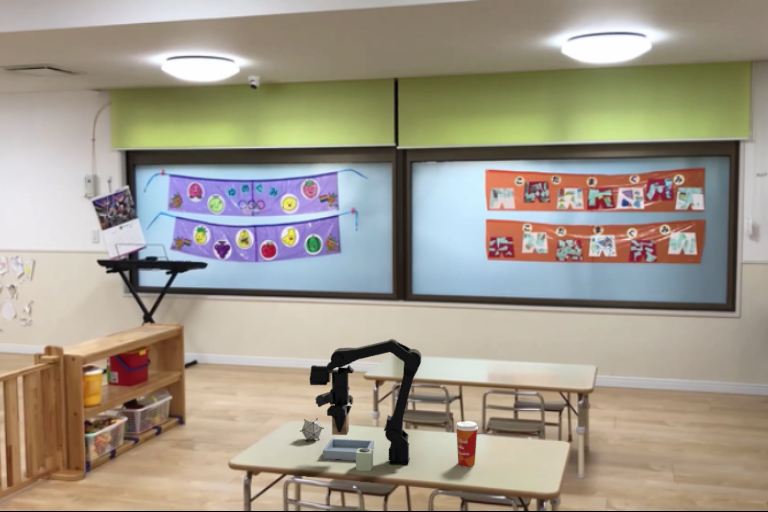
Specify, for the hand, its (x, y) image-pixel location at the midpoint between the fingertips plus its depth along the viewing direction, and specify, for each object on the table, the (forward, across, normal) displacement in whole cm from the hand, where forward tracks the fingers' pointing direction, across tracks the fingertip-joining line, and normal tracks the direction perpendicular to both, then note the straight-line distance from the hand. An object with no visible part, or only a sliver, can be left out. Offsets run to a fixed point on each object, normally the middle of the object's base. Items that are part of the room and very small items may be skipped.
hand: (340, 429), depth 264 cm
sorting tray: (+11, -8, +2) cm, 13 cm away
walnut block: (+1, 0, 0) cm, 1 cm away
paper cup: (+11, -1, +44) cm, 45 cm away
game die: (+11, -22, -15) cm, 29 cm away
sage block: (+11, +7, +9) cm, 16 cm away
